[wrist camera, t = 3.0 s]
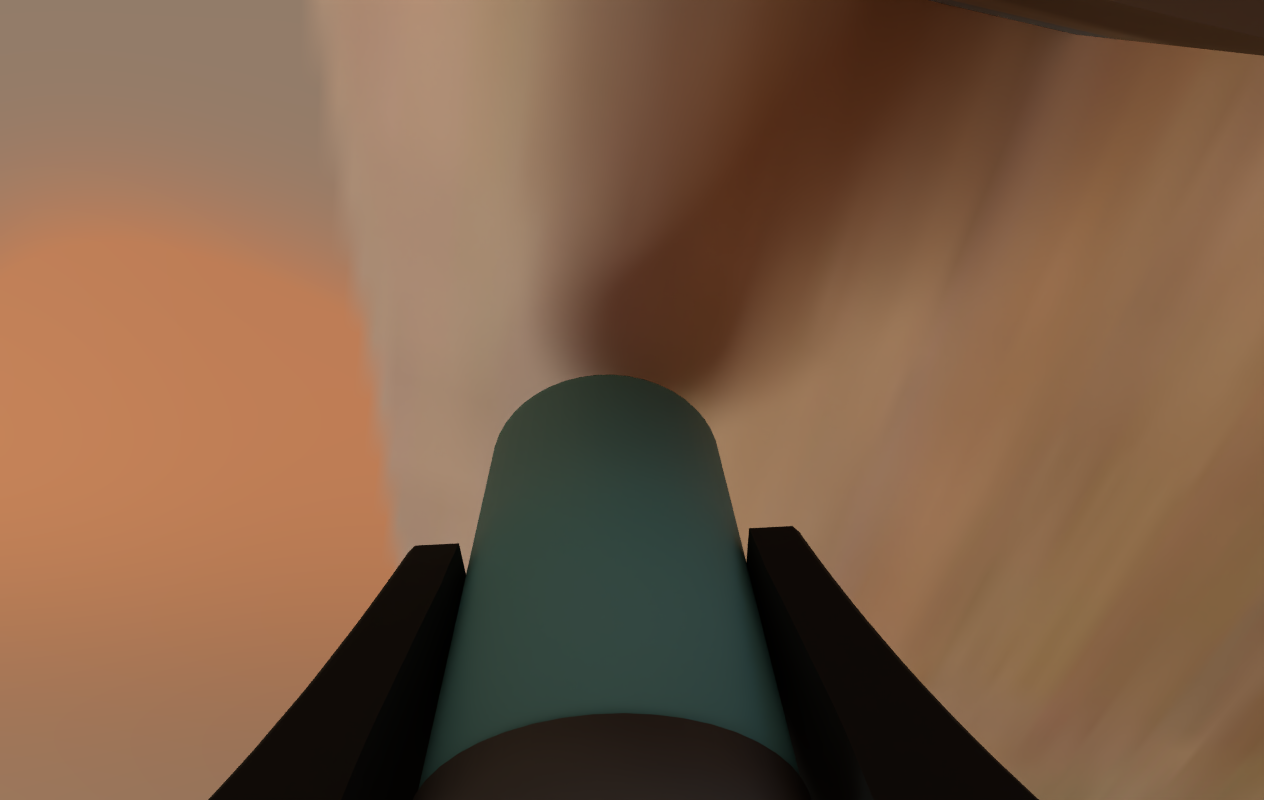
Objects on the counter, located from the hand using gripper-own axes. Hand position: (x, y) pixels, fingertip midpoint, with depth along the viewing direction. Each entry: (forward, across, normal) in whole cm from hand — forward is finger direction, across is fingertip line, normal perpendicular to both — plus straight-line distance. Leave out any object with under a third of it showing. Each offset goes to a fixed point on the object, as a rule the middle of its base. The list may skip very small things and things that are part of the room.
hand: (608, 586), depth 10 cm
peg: (+3, 0, 0) cm, 3 cm away
